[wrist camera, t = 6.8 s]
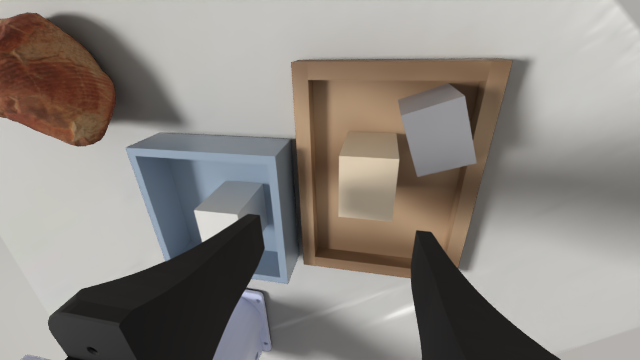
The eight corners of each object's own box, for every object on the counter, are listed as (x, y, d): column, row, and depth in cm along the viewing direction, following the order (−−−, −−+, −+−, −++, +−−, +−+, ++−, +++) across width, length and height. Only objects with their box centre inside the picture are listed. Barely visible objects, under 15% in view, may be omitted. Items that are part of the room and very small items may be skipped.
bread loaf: (136, 116, 19) (-104, 167, 13) (141, 166, 26) (-16, 214, 20) (56, -36, 20) (-200, -53, 14) (80, 50, 27) (-85, 63, 21)
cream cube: (390, 186, 21) (392, 221, 17) (346, 183, 21) (338, 216, 17) (396, 133, 19) (399, 159, 15) (348, 131, 19) (339, 155, 16)
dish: (299, 254, 26) (287, 284, 23) (190, 241, 28) (167, 266, 25) (290, 138, 21) (275, 156, 18) (159, 132, 23) (125, 147, 20)
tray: (449, 268, 23) (453, 284, 22) (308, 251, 26) (303, 264, 24) (501, 58, 16) (512, 60, 15) (298, 60, 18) (291, 62, 17)
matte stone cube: (459, 138, 18) (476, 163, 15) (411, 151, 19) (417, 177, 16) (448, 82, 17) (464, 95, 13) (397, 99, 18) (400, 115, 14)
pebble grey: (267, 224, 24) (245, 260, 21) (233, 220, 25) (205, 255, 21) (262, 183, 23) (237, 214, 19) (225, 180, 23) (193, 210, 19)
